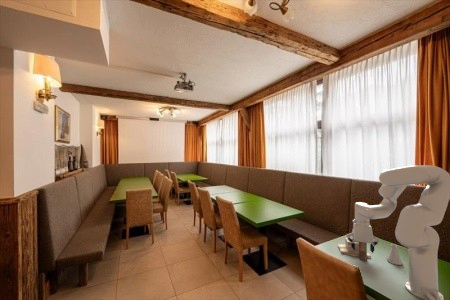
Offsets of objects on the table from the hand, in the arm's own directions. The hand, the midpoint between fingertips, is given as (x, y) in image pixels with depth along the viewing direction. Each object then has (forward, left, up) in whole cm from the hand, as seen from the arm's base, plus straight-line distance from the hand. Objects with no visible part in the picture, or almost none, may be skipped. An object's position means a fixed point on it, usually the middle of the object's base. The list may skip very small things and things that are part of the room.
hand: (362, 250), depth 119 cm
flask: (+3, -17, -6) cm, 18 cm away
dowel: (0, 0, -6) cm, 6 cm away
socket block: (+9, +3, -6) cm, 11 cm away
